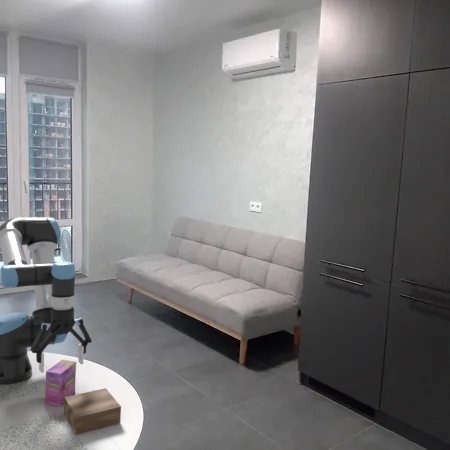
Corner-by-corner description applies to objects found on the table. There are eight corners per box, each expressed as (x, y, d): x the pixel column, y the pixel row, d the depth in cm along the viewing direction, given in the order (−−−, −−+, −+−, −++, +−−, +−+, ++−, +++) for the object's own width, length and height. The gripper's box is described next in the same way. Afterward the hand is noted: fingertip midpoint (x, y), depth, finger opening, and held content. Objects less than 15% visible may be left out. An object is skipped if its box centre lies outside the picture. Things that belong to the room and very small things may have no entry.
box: (59, 406, 154) (60, 373, 153) (44, 404, 155) (45, 370, 154) (75, 392, 164) (76, 361, 163) (61, 390, 165) (62, 359, 164)
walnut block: (63, 414, 150) (64, 397, 149) (105, 404, 158) (105, 388, 157) (76, 435, 139) (76, 417, 138) (120, 424, 147) (121, 406, 146)
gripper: (27, 315, 145) (26, 379, 147) (101, 305, 161) (100, 363, 163) (21, 309, 151) (20, 370, 153) (93, 300, 167) (92, 356, 169)
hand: (61, 367), depth 158 cm, fingers open, 13 cm apart
